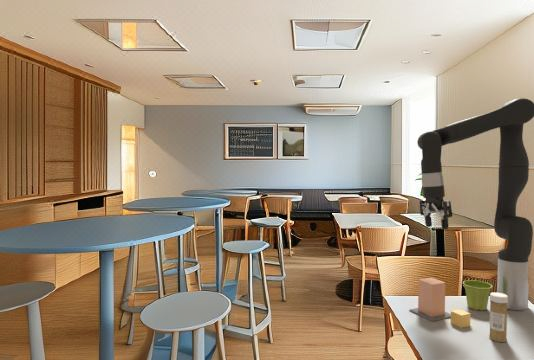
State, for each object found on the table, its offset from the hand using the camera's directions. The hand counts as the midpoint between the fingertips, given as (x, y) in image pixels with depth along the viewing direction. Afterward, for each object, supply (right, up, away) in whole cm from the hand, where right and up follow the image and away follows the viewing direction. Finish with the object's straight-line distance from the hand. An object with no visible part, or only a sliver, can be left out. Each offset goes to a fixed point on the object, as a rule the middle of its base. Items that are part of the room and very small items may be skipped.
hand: (436, 227), depth 142 cm
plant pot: (+12, -29, -5) cm, 32 cm away
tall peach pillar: (-7, -28, -11) cm, 31 cm away
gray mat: (-7, -29, -11) cm, 31 cm away
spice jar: (+5, -30, -30) cm, 42 cm away
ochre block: (-1, -29, -19) cm, 35 cm away
